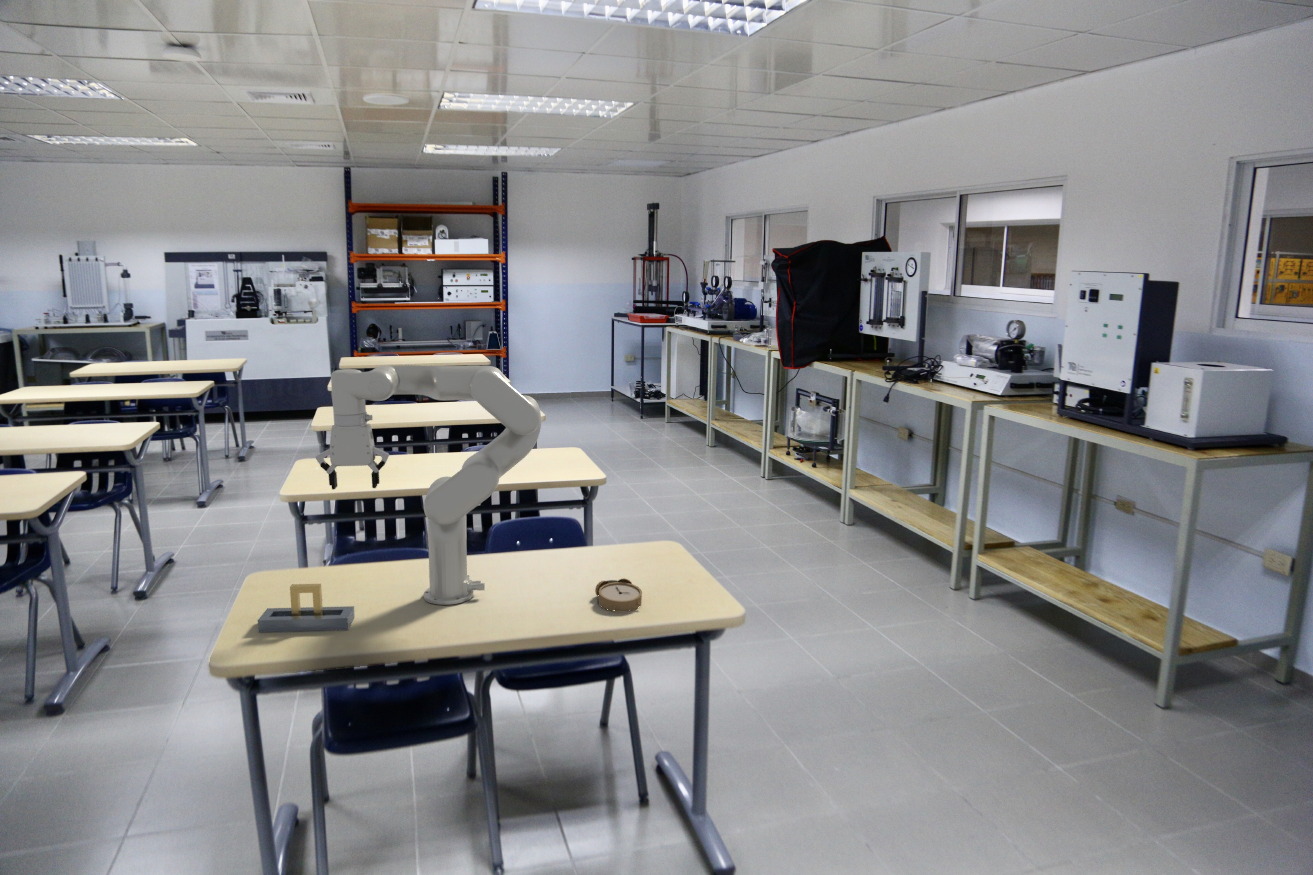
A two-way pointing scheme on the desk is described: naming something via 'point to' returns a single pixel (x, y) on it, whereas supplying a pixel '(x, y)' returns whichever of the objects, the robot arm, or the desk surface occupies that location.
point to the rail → (306, 619)
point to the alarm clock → (618, 595)
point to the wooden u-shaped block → (306, 588)
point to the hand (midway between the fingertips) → (354, 487)
